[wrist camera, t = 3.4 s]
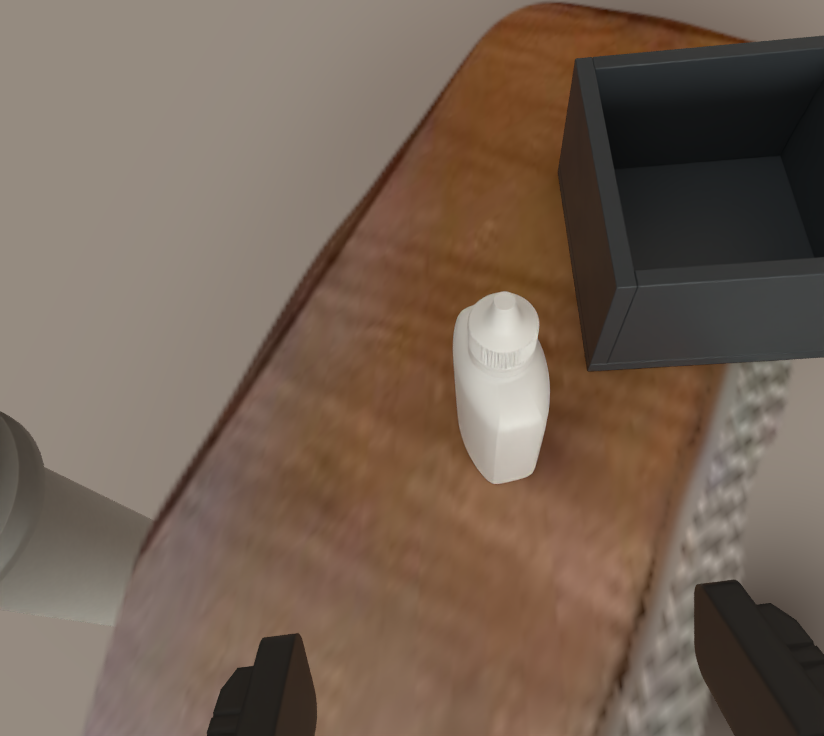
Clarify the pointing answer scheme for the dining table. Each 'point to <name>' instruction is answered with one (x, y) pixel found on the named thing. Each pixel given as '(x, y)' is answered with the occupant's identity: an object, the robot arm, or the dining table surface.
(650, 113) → the bin
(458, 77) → the dining table surface
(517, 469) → the eye dropper bottle
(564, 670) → the dining table surface
